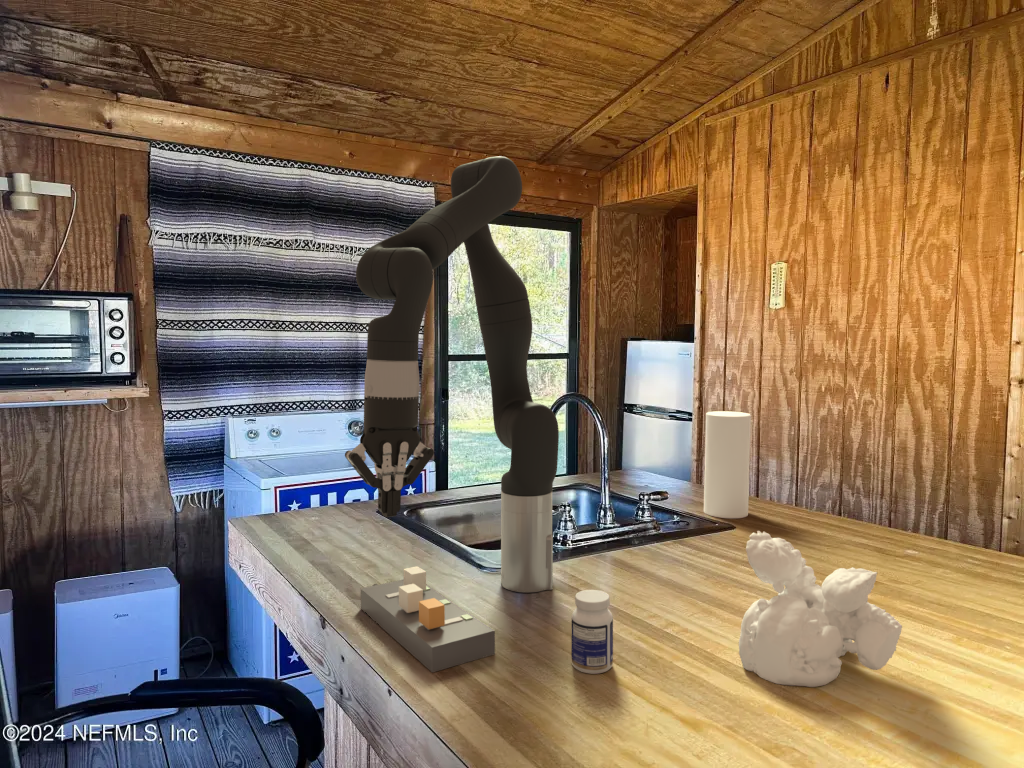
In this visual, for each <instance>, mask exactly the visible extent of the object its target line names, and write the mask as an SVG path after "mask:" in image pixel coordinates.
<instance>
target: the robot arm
mask: <svg viewBox="0 0 1024 768" xmlns="http://www.w3.org/2000/svg"><path fill="white" fill-rule="evenodd" d="M450 191H451V198H450V199H449V200H448V199H447V200H446V201H445V202H442V203H441V204H438V205H436V206H434V207H433V208H431V209H430V210H428V211H426V212H425V213H424V214H423V215H421V216H420V217H419V218H418V219H416V221H414V223H412V224H411V225H410V226H409V227H408V228H406V229H405V230H404V231H400V232H398V233H396V234H394V235H391V236H389V237H388V238H386V239H384V240H381V241H380V242H377V243H376V244H374V245H373V246H371V247H369V248H368V249H367V250H366V251H365V252H364V253H363V254H362V256H361V257H360V259H359V261H358V262H357V266H356V269H355V281H356V283H357V285H358V287H359V289H360V290H361V292H362V293H363V294H364V295H365V296H367V297H369V298H372V299H375V300H395V301H394V304H393V306H392V307H391V308H392V309H391V311H390V312H389V313H388V314H386V315H382V316H378V317H375V318H373V319H371V320H370V321H369V323H368V326H367V343H366V345H367V347H366V359H367V360H366V366H365V367H366V368H365V373H364V389H363V390H364V393H363V396H364V397H363V398H364V399H363V431H362V434H361V436H360V439H359V444H358V445H356V446H355V447H354V448H353V449H350V450H346V451H345V453H344V457H345V459H346V460H347V461H348V462H349V465H351V466H352V468H353V469H354V470H355V472H356V473H357V474H358V475H359V477H360V478H361V479H362V480H363V482H364V483H365V484H366V485H368V486H370V487H372V488H374V489H377V510H378V511H379V513H381V515H382V516H383V517H385V518H390V517H397V514H398V512H400V510H401V507H402V506H401V505H402V503H401V500H402V496H401V495H402V489H403V488H404V487H406V486H408V485H413V484H414V483H415V482H416V480H417V479H418V477H419V476H420V475H421V473H422V472H423V470H424V469H425V468H426V466H427V465H428V464H429V462H430V460H431V459H432V458H433V456H434V454H435V451H434V449H432V448H430V447H427V446H426V445H425V444H424V443H423V442H421V436H420V434H419V430H418V427H419V410H420V409H419V405H420V401H419V400H420V391H421V386H420V372H419V371H420V370H419V361H418V360H419V344H420V343H419V342H420V340H419V339H420V337H419V335H420V330H421V326H422V322H423V320H424V316H425V312H426V309H427V305H428V301H429V298H430V295H431V293H432V288H433V283H434V270H435V269H436V268H439V267H440V266H441V265H442V264H443V263H444V262H445V261H446V260H447V259H448V258H449V257H450V256H451V255H452V254H453V253H454V252H455V251H456V250H457V249H458V248H459V247H460V246H461V245H462V244H464V248H465V252H466V256H467V261H468V266H469V271H470V276H471V281H472V287H473V292H474V299H475V300H474V301H475V307H476V311H477V318H478V323H479V328H480V333H481V337H482V343H483V349H484V355H485V359H486V364H487V368H488V374H489V381H490V388H491V390H490V391H491V401H492V417H493V418H492V419H493V425H494V426H493V428H494V431H495V434H496V436H497V438H498V440H499V442H500V443H501V444H502V446H504V447H505V448H508V450H509V449H510V466H509V470H508V471H507V472H505V473H503V475H502V476H501V482H500V485H501V486H500V488H501V489H500V490H501V491H500V499H501V500H500V515H501V516H500V520H501V521H500V581H501V582H500V584H501V587H503V588H505V589H506V590H508V591H511V592H517V593H538V592H542V591H546V590H553V586H554V585H553V584H554V583H553V576H554V575H553V571H554V570H553V569H554V568H553V564H554V562H553V559H554V556H553V555H554V553H553V551H554V545H553V543H554V542H553V541H554V537H553V486H554V480H555V478H556V476H557V471H558V461H559V460H558V458H559V443H560V442H559V441H560V440H559V439H560V438H559V435H560V433H559V432H560V431H559V424H558V419H557V417H556V415H555V413H554V411H553V410H552V409H551V408H550V407H549V406H547V405H544V404H542V403H538V402H534V400H533V397H532V393H531V389H530V384H529V378H528V359H529V352H530V347H531V343H532V342H531V341H532V335H533V320H532V317H533V316H532V312H531V306H530V305H531V304H530V301H529V294H528V290H527V287H526V285H525V283H524V281H523V280H522V278H521V277H520V276H519V274H518V273H517V271H516V269H514V267H512V266H511V264H510V263H509V262H508V260H506V259H505V257H504V256H503V254H502V253H501V252H500V251H499V249H498V248H497V246H496V243H495V242H494V239H493V235H492V233H491V228H490V226H489V223H490V222H492V221H493V220H495V219H496V218H498V217H499V216H502V215H503V214H506V213H507V212H509V211H511V210H512V209H514V208H515V207H516V206H517V205H518V204H519V202H520V200H521V198H522V193H523V181H522V177H521V174H520V170H519V169H518V167H517V165H516V164H515V162H514V161H512V160H511V159H510V158H508V157H506V156H502V155H499V156H490V157H486V158H483V159H478V160H476V161H472V162H467V163H463V164H461V165H458V166H457V167H455V169H454V170H453V171H452V173H451V178H450ZM366 454H367V455H368V457H369V459H370V460H371V461H372V463H373V464H374V472H375V474H374V473H373V471H372V470H371V469H370V467H369V466H368V465H367V464H366V463H365V461H366V460H367V456H366ZM412 455H413V457H412ZM411 457H412V459H411V460H410V461H409V459H410V458H411ZM408 461H409V463H408V464H407V462H408Z"/></svg>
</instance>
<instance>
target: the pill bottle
mask: <svg viewBox="0 0 1024 768" xmlns="http://www.w3.org/2000/svg"><path fill="white" fill-rule="evenodd" d="M574 597H575V598H574V602H575V603H574V604H575V606H576V608H574V609H573V611H572V613H571V664H572V666H573V667H574V668H575V669H576V670H577V671H579V672H581V673H586V674H591V675H594V674H603V673H606V672H608V671H609V670H611V668H612V667H613V665H614V649H613V648H614V618H613V613H612V612H611V610H610V609H609V606H610V603H611V602H610V594H608V593H607V592H606V591H603V590H599V589H585V590H580V591H578V592H577V593H576V594H575V596H574Z"/></svg>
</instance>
